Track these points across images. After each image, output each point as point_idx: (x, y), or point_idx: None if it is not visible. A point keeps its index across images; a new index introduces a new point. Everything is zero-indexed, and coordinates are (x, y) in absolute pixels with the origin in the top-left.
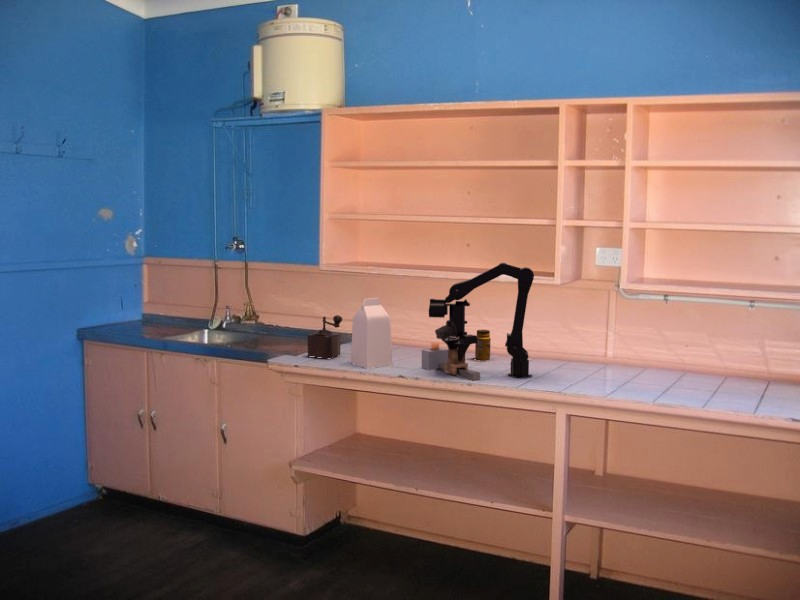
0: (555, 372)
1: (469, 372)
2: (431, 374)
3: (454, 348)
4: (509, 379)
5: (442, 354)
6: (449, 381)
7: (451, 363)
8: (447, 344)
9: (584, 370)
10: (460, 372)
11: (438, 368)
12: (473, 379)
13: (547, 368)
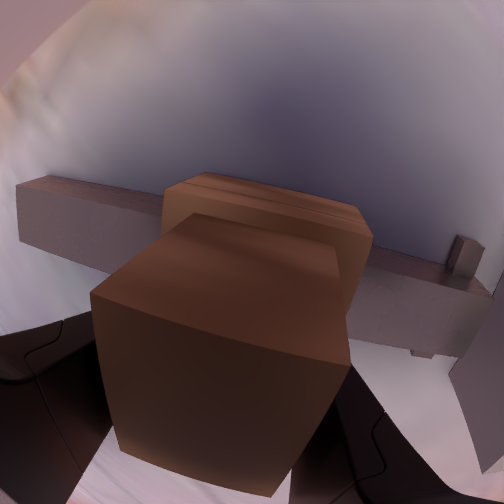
0: (91, 466)
1: (43, 191)
2: (408, 87)
3: (305, 477)
4: (27, 327)
5: None
6: (109, 24)
7: (247, 224)
8: (430, 497)
9: (94, 489)
10: (151, 206)
11: (470, 268)
12: (43, 178)
13: (145, 497)
